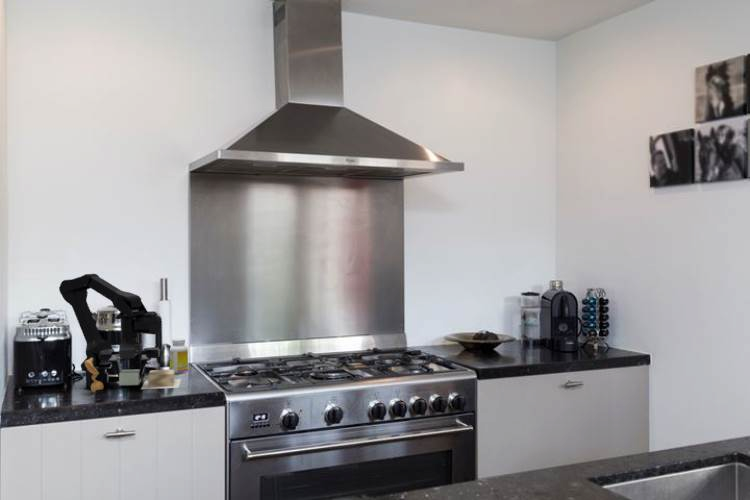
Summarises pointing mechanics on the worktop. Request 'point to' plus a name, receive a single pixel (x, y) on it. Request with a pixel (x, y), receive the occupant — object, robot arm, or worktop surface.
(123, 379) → the sage brick
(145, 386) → the baseplate
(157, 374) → the wood brick
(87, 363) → the figurine
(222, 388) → the worktop surface
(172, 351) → the supplement bottle
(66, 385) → the worktop surface
